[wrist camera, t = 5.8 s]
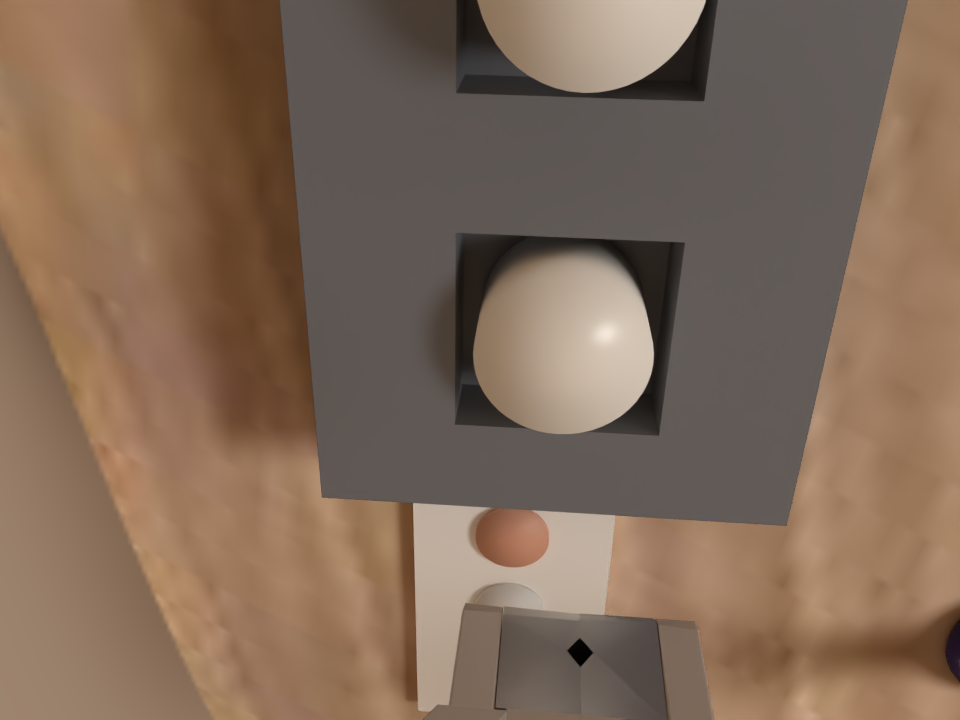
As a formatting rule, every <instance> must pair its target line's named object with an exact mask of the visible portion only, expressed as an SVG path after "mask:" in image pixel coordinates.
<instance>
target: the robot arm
mask: <svg viewBox="0 0 960 720" xmlns="http://www.w3.org/2000/svg"><path fill="white" fill-rule="evenodd" d="M423 720H714V715H713V710H712V704H711V698H710V692H709V686H708V681H707V675H706V669H705V663H704V657H703V652H702V646H701V640H700V634H699V628H698V627H697V625H696V624H695V622H693V621H679V620H665V619H655V620H654V619H651V618H637V617H622V616H608V615H594V614H580V613H578V614H573V613H564V612H554V611H545V610H535V609H526V608H516V607H507V606H504V612H503V607H499V606H490V605H480V604H471V603H465V605H464V608H463V611H462V616H461V623H460V630H459V637H458V644H457V651H456V658H455V665H454V672H453V679H452V686H451V693H450V700H449V705H439V704H437V705H436V706H435V707H434V708H433V709H432V711H431V712H430V713H429V714H428V715H427V716H426V717H425V718H424V719H423Z"/></svg>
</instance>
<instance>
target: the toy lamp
mask: <svg viewBox="0 0 960 720" xmlns="http://www.w3.org/2000/svg"><path fill="white" fill-rule="evenodd" d="M946 657H947V662H948V665H949V667H950V670H951V671H952V673H953V674H954V675H955V677H956V678H957V679H958V680H959V682H960V621H959V622H958V623H957V625H956V626H955V628H954V629H953V631H952V632H951V634H950V636H949V640H948V642H947V647H946Z"/></svg>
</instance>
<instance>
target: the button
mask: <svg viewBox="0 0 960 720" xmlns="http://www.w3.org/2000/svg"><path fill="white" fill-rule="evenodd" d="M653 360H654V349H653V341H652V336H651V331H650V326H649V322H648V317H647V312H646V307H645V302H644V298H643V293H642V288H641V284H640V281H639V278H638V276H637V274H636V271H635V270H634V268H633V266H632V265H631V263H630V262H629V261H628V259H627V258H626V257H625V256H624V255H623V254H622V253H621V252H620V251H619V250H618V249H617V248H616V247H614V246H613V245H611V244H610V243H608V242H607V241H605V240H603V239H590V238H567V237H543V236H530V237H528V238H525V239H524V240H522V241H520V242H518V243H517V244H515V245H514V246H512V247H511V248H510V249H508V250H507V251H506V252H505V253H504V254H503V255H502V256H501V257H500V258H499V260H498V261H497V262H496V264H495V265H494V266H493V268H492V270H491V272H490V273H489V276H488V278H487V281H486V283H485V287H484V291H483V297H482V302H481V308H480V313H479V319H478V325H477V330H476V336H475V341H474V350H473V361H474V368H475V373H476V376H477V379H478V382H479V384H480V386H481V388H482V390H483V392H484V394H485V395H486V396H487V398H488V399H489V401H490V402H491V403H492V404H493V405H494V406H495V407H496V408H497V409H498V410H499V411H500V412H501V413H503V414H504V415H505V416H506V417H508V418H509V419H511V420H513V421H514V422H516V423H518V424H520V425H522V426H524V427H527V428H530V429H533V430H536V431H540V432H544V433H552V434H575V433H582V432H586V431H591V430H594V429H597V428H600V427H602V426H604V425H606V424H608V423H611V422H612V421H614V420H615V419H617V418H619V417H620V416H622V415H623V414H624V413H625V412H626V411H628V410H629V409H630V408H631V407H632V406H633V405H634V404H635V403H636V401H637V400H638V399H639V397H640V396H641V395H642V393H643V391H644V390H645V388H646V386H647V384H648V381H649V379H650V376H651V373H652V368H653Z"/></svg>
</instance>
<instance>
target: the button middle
mask: <svg viewBox="0 0 960 720" xmlns="http://www.w3.org/2000/svg"><path fill="white" fill-rule="evenodd" d="M477 1H478V4H479V8H480V11H481V14H482V18H483V20H484V22H485V24H486V27H487V29H488V31H489V33H490V35H491V36H492V38H493V40H494V41H495V43H496V45H497V46H498V47H499V48H500V50H501V51H502V52H503V53H504V55H505V56H506V57H507V58H508V59H509V60H510V61H511V62H512V63H513V64H514V65H515V66H516V67H517V68H519V69H520V70H522V71H523V72H524V73H526V74H527V75H528V76H530V77H532V78H534V79H535V80H537V81H539V82H541V83H543V84H546V85H548V86H551V87H554V88H557V89H561V90H565V91H570V92H580V93H594V92H603V91H609V90H614V89H618V88H621V87H624V86H627V85H630V84H632V83H634V82H636V81H638V80H641V79H642V78H644V77H646V76H647V75H649V74H651V73H652V72H654V71H655V70H657V69H658V68H659V67H660V66H662V65H663V64H664V63H665V62H667V61H668V60H669V59H670V58H671V57H672V56H673V55H674V54H675V53H676V52H677V51H678V49H679V48H680V47H681V46H682V44H683V43H684V42H685V41H686V39H687V38H688V37H689V35H690V33H691V32H692V30H693V28H694V27H695V25H696V23H697V21H698V19H699V17H700V15H701V12H702V10H703V8H704V5H705V2H706V0H477Z"/></svg>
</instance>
